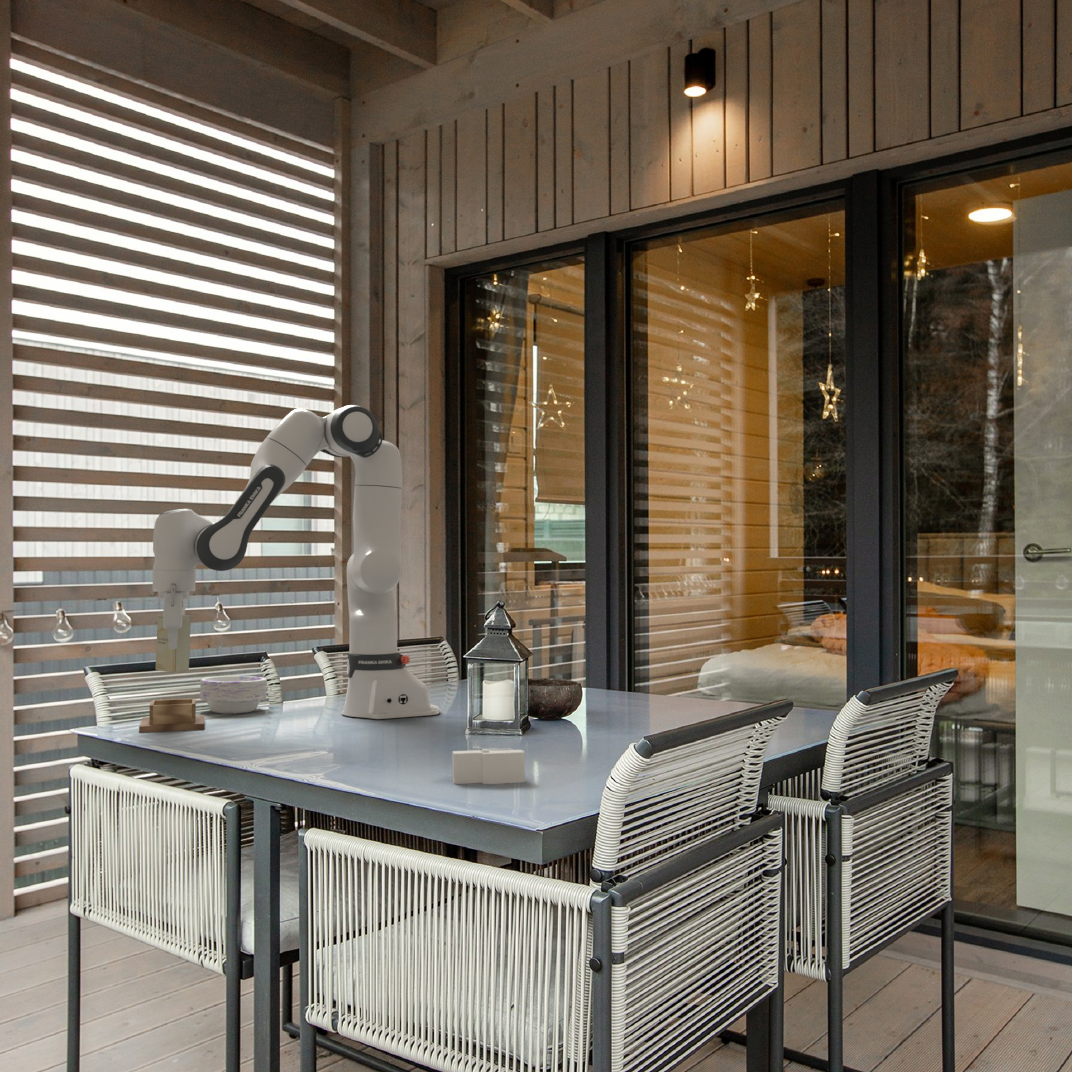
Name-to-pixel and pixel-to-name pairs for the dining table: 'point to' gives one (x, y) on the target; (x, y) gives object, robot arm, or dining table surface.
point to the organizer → (172, 716)
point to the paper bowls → (233, 693)
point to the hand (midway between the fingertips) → (173, 647)
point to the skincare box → (173, 657)
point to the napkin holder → (488, 766)
